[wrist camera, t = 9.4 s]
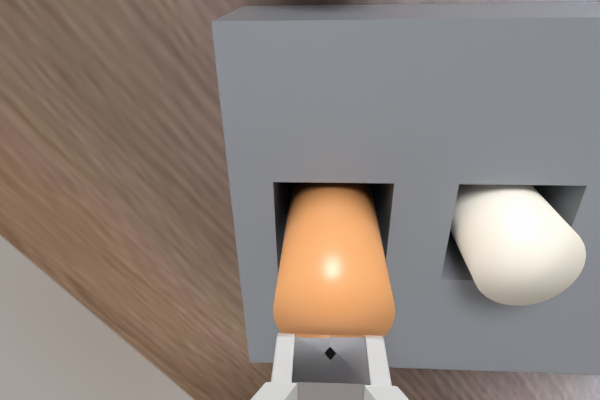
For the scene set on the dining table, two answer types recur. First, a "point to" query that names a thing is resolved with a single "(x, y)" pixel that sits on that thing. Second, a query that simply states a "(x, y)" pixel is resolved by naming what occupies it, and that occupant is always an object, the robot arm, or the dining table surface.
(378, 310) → the orange plug
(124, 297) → the dining table surface
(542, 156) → the panel
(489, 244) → the ivory plug
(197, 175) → the dining table surface
